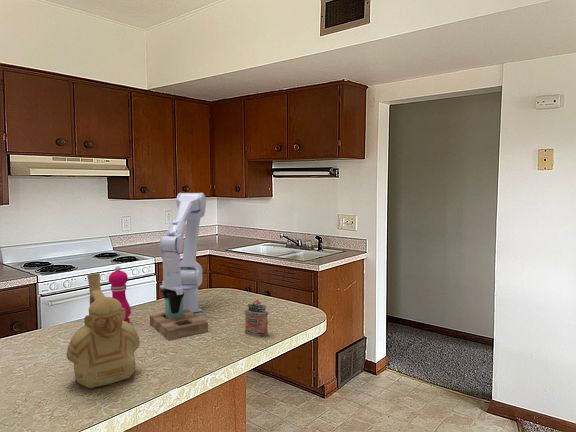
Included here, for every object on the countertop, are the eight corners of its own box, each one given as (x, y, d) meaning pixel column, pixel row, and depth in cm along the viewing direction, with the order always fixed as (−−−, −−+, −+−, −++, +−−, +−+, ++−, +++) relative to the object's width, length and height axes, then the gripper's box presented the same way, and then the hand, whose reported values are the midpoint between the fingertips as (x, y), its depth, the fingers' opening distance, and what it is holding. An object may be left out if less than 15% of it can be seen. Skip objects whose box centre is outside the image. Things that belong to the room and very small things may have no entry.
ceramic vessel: (74, 402, 100) (68, 291, 97) (62, 370, 116) (57, 275, 114) (151, 382, 109) (147, 280, 107) (130, 355, 125) (126, 267, 123)
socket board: (150, 324, 152) (149, 315, 151) (186, 317, 159) (186, 308, 159) (168, 340, 137) (168, 330, 137) (208, 331, 144) (207, 322, 144)
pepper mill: (135, 321, 154) (133, 264, 152) (125, 329, 147) (123, 268, 145) (115, 321, 155) (112, 264, 153) (104, 328, 148) (101, 268, 146)
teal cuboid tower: (165, 321, 152) (165, 298, 151) (179, 318, 155) (179, 295, 154) (169, 324, 149) (168, 300, 148) (183, 321, 152) (183, 298, 151)
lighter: (242, 333, 142) (242, 302, 141) (248, 330, 145) (248, 300, 144) (264, 338, 138) (264, 306, 137) (270, 334, 141) (269, 303, 140)
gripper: (153, 269, 154) (154, 308, 155) (167, 277, 142) (168, 319, 143) (173, 266, 158) (174, 304, 159) (188, 274, 146) (189, 315, 147)
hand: (173, 311), depth 151 cm, fingers closed on teal cuboid tower, 3 cm apart
